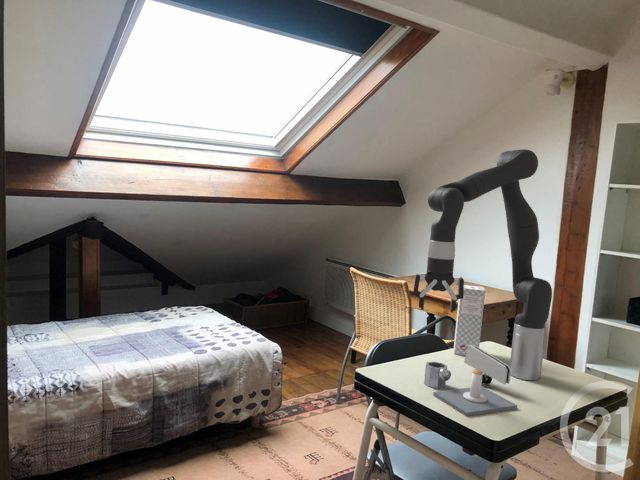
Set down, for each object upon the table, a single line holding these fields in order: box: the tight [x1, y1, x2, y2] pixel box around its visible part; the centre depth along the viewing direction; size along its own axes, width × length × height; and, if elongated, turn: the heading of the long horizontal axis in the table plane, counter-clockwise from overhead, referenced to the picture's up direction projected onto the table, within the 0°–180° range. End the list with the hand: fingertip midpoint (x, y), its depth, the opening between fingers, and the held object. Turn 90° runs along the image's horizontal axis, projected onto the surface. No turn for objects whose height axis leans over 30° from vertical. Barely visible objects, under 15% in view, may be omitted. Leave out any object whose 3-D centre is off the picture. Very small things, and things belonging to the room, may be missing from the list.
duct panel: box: [432, 368, 518, 417], centre depth 139 cm, size 18×14×9 cm
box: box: [453, 284, 486, 357], centre depth 186 cm, size 8×8×25 cm
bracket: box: [463, 345, 511, 386], centre depth 154 cm, size 4×10×15 cm
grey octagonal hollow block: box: [423, 361, 452, 389], centre depth 150 cm, size 6×8×6 cm
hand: (436, 310), depth 146 cm, fingers open, 8 cm apart
